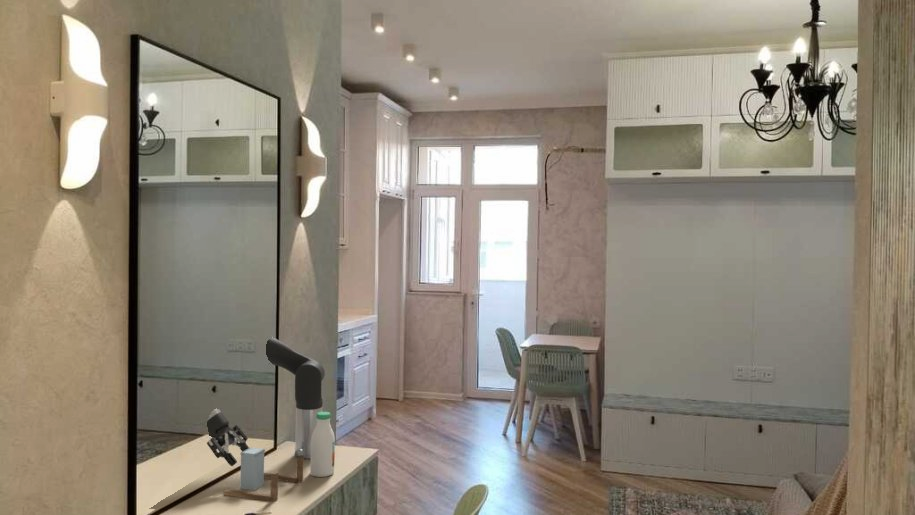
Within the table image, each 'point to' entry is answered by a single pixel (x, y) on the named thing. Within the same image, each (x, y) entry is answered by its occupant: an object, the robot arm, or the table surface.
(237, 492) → the bay
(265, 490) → the table surface
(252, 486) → the lidded storage bin
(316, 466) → the milk bottle
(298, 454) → the metal cylinder with tab
